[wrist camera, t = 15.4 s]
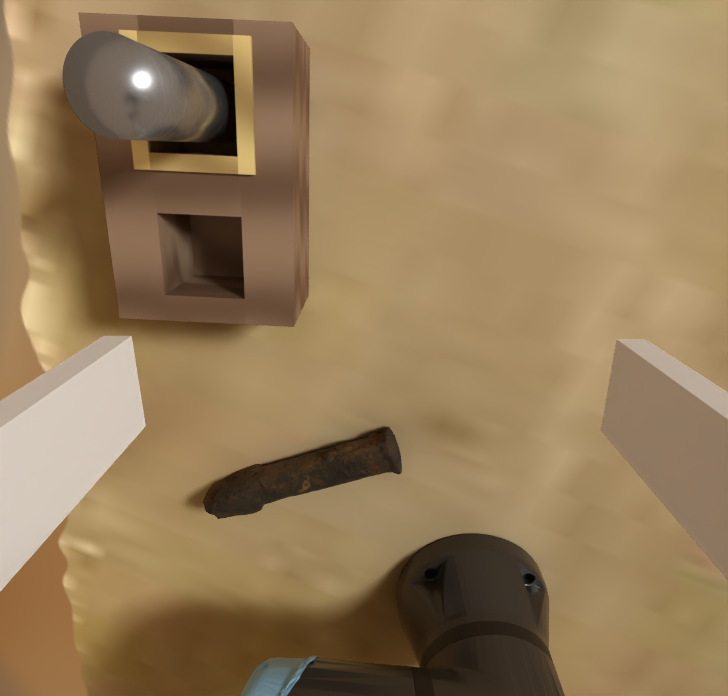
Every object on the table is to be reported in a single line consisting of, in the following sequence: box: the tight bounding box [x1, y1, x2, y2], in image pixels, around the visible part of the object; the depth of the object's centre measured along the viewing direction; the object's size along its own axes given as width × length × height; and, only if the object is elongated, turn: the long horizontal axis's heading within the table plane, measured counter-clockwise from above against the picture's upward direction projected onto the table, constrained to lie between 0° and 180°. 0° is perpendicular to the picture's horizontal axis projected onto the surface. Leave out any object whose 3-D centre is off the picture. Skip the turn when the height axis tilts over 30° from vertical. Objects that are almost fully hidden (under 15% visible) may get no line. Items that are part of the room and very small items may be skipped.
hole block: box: [79, 13, 310, 327], centre depth 36 cm, size 18×12×8 cm, turn 177°
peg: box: [63, 31, 237, 143], centre depth 29 cm, size 4×4×16 cm
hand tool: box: [203, 427, 402, 519], centre depth 47 cm, size 19×4×5 cm, turn 106°
